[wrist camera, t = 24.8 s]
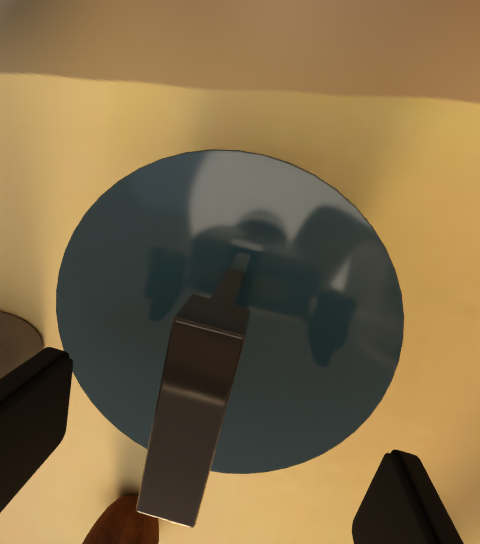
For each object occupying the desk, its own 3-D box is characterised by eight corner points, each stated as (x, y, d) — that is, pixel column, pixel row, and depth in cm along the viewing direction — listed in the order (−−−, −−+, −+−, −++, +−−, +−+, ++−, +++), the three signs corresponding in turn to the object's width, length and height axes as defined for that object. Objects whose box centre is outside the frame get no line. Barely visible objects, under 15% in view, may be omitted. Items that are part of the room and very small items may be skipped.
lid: (452, 203, 12) (654, 223, 5) (331, 487, 16) (368, 685, 9) (86, 113, 12) (-109, 38, 6) (61, 410, 16) (-72, 550, 10)
